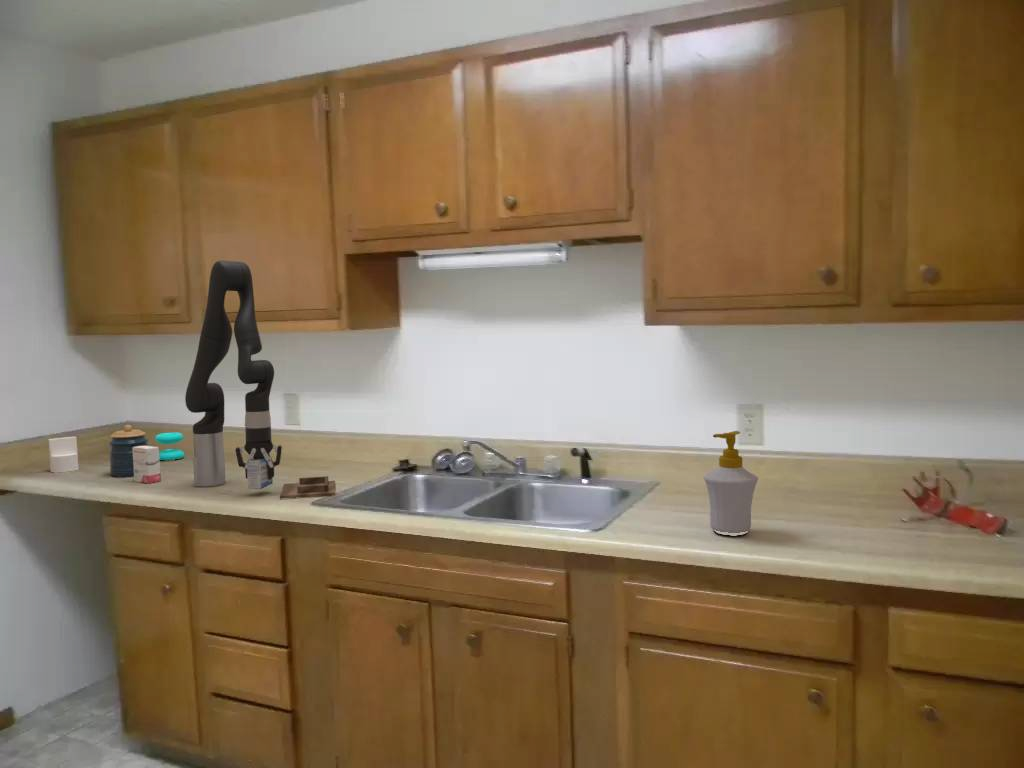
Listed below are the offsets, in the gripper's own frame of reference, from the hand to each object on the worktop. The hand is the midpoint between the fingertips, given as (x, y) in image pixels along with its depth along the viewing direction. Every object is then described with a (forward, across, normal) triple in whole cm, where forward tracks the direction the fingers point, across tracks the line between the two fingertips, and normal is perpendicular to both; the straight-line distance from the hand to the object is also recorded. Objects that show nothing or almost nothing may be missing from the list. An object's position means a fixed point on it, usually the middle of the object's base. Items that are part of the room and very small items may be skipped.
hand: (260, 479), depth 252 cm
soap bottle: (+2, -117, +80) cm, 141 cm away
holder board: (+4, -14, 0) cm, 15 cm away
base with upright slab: (+7, +75, -63) cm, 98 cm away
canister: (+6, +49, -48) cm, 69 cm away
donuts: (+6, +41, -76) cm, 87 cm away
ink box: (+6, +40, -32) cm, 52 cm away
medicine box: (+2, 0, 0) cm, 2 cm away
